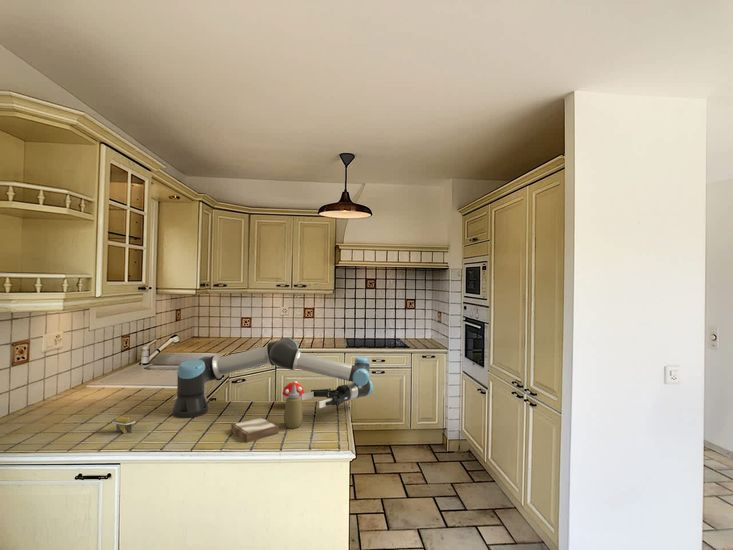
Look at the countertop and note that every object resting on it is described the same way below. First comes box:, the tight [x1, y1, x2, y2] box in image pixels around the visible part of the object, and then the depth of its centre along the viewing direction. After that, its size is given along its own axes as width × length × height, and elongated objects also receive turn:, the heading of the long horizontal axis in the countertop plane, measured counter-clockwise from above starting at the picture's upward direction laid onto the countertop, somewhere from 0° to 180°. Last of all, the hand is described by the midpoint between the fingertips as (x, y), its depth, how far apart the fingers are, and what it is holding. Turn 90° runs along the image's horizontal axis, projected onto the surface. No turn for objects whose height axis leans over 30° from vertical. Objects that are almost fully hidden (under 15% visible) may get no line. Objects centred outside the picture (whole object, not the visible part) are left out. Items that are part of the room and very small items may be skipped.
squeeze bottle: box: [283, 385, 303, 429], centre depth 178 cm, size 8×8×18 cm
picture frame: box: [230, 416, 279, 443], centre depth 170 cm, size 14×14×3 cm
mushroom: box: [281, 380, 305, 400], centre depth 204 cm, size 11×11×12 cm
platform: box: [112, 415, 136, 434], centre depth 167 cm, size 12×18×7 cm, turn 72°
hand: (309, 400), depth 183 cm, fingers open, 13 cm apart
